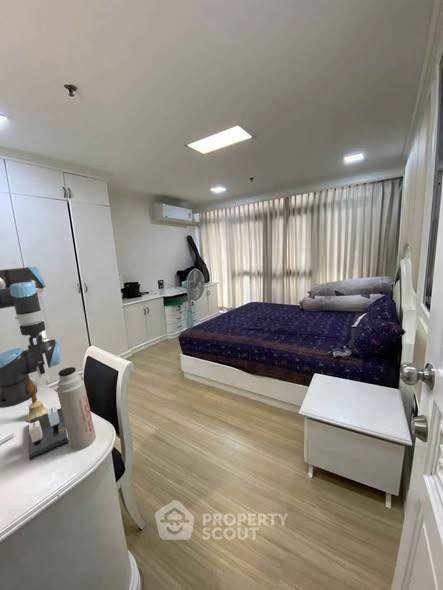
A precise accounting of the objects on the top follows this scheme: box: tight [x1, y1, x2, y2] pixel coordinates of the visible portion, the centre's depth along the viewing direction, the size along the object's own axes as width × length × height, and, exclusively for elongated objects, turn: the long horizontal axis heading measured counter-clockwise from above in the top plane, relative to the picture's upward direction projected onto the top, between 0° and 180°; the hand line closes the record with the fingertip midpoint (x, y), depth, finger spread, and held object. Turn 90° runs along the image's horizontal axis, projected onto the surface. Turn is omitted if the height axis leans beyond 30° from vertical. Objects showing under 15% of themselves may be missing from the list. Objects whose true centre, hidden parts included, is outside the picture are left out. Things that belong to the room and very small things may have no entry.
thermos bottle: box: [56, 366, 96, 451], centre depth 85 cm, size 8×8×28 cm
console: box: [27, 407, 69, 461], centre depth 93 cm, size 22×11×3 cm, turn 36°
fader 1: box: [28, 421, 42, 443], centre depth 87 cm, size 4×3×6 cm
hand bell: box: [25, 380, 49, 423], centre depth 103 cm, size 8×8×16 cm
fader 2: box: [47, 406, 59, 426], centre depth 95 cm, size 4×3×7 cm
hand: (44, 374), depth 98 cm, fingers open, 12 cm apart
